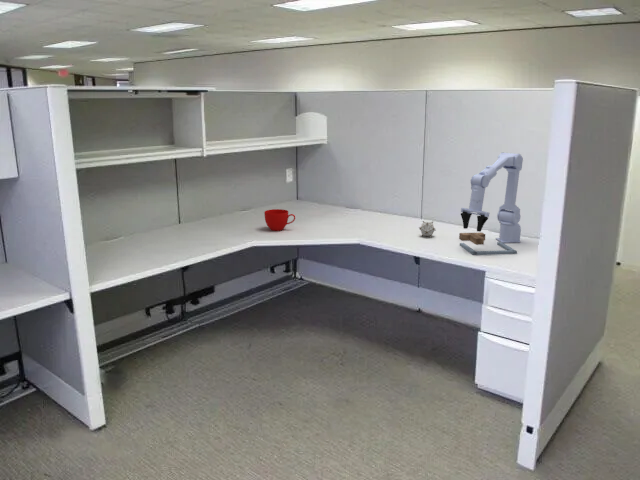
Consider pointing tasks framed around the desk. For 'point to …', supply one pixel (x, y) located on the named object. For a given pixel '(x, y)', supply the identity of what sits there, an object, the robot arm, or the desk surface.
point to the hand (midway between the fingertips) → (471, 229)
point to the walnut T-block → (473, 237)
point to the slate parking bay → (507, 251)
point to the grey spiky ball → (427, 229)
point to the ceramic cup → (277, 219)
